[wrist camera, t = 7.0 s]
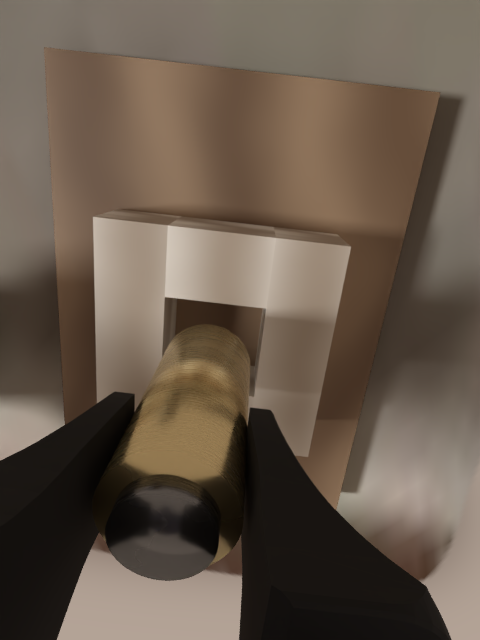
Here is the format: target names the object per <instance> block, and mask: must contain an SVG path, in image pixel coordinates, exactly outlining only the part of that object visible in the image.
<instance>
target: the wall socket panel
mask: <svg viewBox="0 0 480 640" xmlns="http://www.w3.org/2000/svg"><path fill="white" fill-rule="evenodd" d="M44 55H45V73H46V91H47V110H48V128H49V146H50V164H51V182H52V200H53V218H54V237H55V255H56V273H57V291H58V309H59V327H60V345H61V363H62V382H63V400H64V418H65V425H66V424H67V423H69V422H71V421H72V420H73V419H75V418H76V417H78V416H79V415H81V414H82V413H84V412H85V411H87V410H88V409H90V408H91V407H93V406H94V405H96V404H97V403H98V402H100V401H101V400H103V399H104V398H106V397H107V396H108V395H110V394H111V393H113V392H124V393H132V394H135V411H136V409H137V407H138V405H139V403H140V401H141V399H142V397H143V395H144V393H145V391H146V389H147V387H148V385H149V383H150V381H151V379H152V377H153V375H154V373H155V371H156V369H157V367H158V365H159V363H160V361H161V359H162V357H163V355H164V353H165V351H166V349H167V347H168V345H169V344H170V342H171V340H172V339H173V338H174V337H175V336H176V335H177V334H178V333H180V332H181V331H183V330H184V329H186V328H189V327H192V326H195V325H203V324H208V325H215V326H219V327H222V328H225V329H227V330H229V331H230V332H232V333H233V334H235V335H236V336H237V337H238V338H239V339H240V340H241V341H242V342H243V344H244V345H245V347H246V349H247V351H248V354H249V358H250V383H249V405H248V418H249V411H250V407H251V408H260V409H268V410H271V411H272V412H273V414H274V416H275V419H276V421H277V423H278V426H279V428H280V430H281V432H282V434H283V436H284V438H285V439H286V441H287V443H288V445H289V447H290V448H291V450H292V452H293V453H294V455H295V457H296V458H297V460H298V462H299V463H300V465H301V466H302V468H303V469H304V471H305V472H306V474H307V475H308V476H309V478H310V479H311V481H312V482H313V483H314V485H315V486H316V487H317V489H318V490H319V491H320V492H321V494H322V495H323V496H324V497H325V499H326V500H327V501H328V502H329V503H330V504H331V506H332V507H333V508H334V509H335V510H336V508H337V504H338V500H339V496H340V492H341V488H342V484H343V480H344V476H345V472H346V468H347V464H348V460H349V456H350V452H351V448H352V444H353V440H354V436H355V432H356V428H357V424H358V420H359V416H360V412H361V408H362V404H363V400H364V396H365V392H366V388H367V384H368V380H369V376H370V372H371V368H372V364H373V360H374V356H375V352H376V348H377V344H378V340H379V336H380V332H381V328H382V324H383V320H384V316H385V312H386V308H387V304H388V300H389V296H390V292H391V288H392V284H393V280H394V276H395V272H396V268H397V264H398V260H399V256H400V252H401V248H402V244H403V240H404V236H405V232H406V228H407V224H408V220H409V216H410V212H411V208H412V204H413V200H414V196H415V192H416V188H417V184H418V180H419V176H420V172H421V168H422V164H423V160H424V156H425V152H426V148H427V144H428V140H429V136H430V132H431V128H432V124H433V120H434V116H435V112H436V108H437V104H438V100H439V96H440V92H431V91H422V90H413V89H405V88H396V87H387V86H378V85H370V84H361V83H352V82H343V81H335V80H326V79H317V78H308V77H299V76H291V75H282V74H273V73H264V72H256V71H247V70H238V69H229V68H221V67H212V66H203V65H194V64H186V63H177V62H168V61H159V60H151V59H142V58H133V57H124V56H116V55H107V54H98V53H89V52H81V51H72V50H63V49H54V48H46V47H44Z"/></svg>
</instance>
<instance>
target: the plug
mask: <svg viewBox="0 0 480 640" xmlns="http://www.w3.org/2000/svg"><path fill="white" fill-rule="evenodd" d="M249 383H250V358H249V354H248V351H247V349H246V347H245V345H244V344H243V342H242V341H241V340H240V339H239V338H238V337H237V336H236V335H235V334H233V333H232V332H230V331H229V330H227V329H225V328H222V327H219V326H215V325H208V324H203V325H195V326H192V327H189V328H186V329H184V330H183V331H181V332H180V333H178V334H177V335H176V336H175V337H174V338H173V339H172V340H171V342H170V344H169V345H168V347H167V349H166V351H165V353H164V355H163V357H162V359H161V361H160V363H159V365H158V367H157V369H156V371H155V373H154V375H153V377H152V379H151V381H150V383H149V385H148V387H147V389H146V391H145V393H144V395H143V397H142V399H141V401H140V403H139V405H138V407H137V409H136V411H135V413H134V414H133V416H132V418H131V420H130V422H129V424H128V426H127V428H126V430H125V432H124V434H123V436H122V438H121V440H120V442H119V444H118V446H117V448H116V450H115V452H114V454H113V456H112V458H111V460H110V462H109V464H108V466H107V468H106V470H105V472H104V474H103V476H102V478H101V480H100V482H99V484H98V486H97V488H96V490H95V493H94V497H93V502H92V511H93V518H94V521H95V524H96V526H97V529H98V531H99V532H100V534H101V535H102V537H103V538H104V540H105V541H106V543H107V546H108V548H109V550H110V552H111V553H112V555H113V556H114V557H115V558H116V560H117V561H119V562H120V563H121V564H122V565H123V566H124V567H126V568H127V569H129V570H131V571H132V572H134V573H136V574H139V575H141V576H144V577H147V578H151V579H156V580H165V581H170V580H181V579H185V578H189V577H192V576H194V575H196V574H198V573H200V572H202V571H203V570H205V569H206V568H207V567H208V566H209V565H211V564H213V563H215V562H217V561H218V560H220V559H221V558H223V557H224V556H225V555H227V554H228V553H229V552H230V551H231V550H232V549H233V547H234V546H235V545H236V543H237V541H238V540H239V537H240V535H241V532H242V528H243V517H244V495H245V472H246V444H247V426H248V405H249Z"/></svg>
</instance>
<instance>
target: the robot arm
mask: <svg viewBox="0 0 480 640" xmlns="http://www.w3.org/2000/svg"><path fill="white" fill-rule="evenodd" d="M134 413H135V394H132V393H124V392H113V393H111V394H110V395H108V396H107V397H106V398H104V399H103V400H101V401H100V402H98V403H97V404H96V405H94V406H93V407H91V408H90V409H88V410H87V411H85V412H84V413H82V414H81V415H79V416H78V417H76V418H75V419H73V420H72V421H71V422H69V423H67V424H66V425H64V426H63V427H61V428H59V429H58V430H56V431H54V432H53V433H51V434H49V435H48V436H46V437H44V438H43V439H41V440H39V441H38V442H36V443H34V444H32V445H31V446H29V447H27V448H25V449H23V450H21V451H19V452H17V453H15V454H13V455H11V456H9V457H7V458H5V459H3V460H1V461H0V640H57V637H58V634H59V631H60V628H61V626H62V623H63V620H64V617H65V614H66V612H67V609H68V606H69V603H70V600H71V597H72V595H73V592H74V589H75V587H76V584H77V582H78V579H79V576H80V573H81V571H82V568H83V566H84V563H85V561H86V558H87V556H88V554H89V552H90V550H91V548H92V545H93V543H94V541H95V539H96V537H97V535H98V533H99V531H98V529H97V526H96V524H95V521H94V518H93V511H92V502H93V497H94V493H95V490H96V488H97V486H98V484H99V482H100V480H101V478H102V476H103V474H104V472H105V470H106V468H107V466H108V464H109V462H110V460H111V458H112V456H113V454H114V452H115V450H116V448H117V446H118V444H119V442H120V440H121V438H122V436H123V434H124V432H125V430H126V428H127V426H128V424H129V422H130V420H131V418H132V416H133V414H134ZM241 541H242V600H241V619H240V635H239V640H451V638H450V635H449V633H448V630H447V628H446V625H445V623H444V621H443V619H442V617H441V614H440V612H439V610H438V608H437V607H436V605H435V603H434V601H433V599H432V598H431V595H430V593H429V591H428V589H427V587H426V586H425V585H424V584H422V583H421V582H420V581H418V580H417V579H415V578H414V577H413V576H411V575H410V574H409V573H407V572H406V571H405V570H403V569H402V568H401V567H399V566H398V565H396V564H395V563H394V562H392V561H391V560H390V559H388V558H387V557H386V556H385V555H384V554H382V553H381V552H380V551H379V550H378V549H376V548H375V547H374V546H373V545H372V544H371V543H369V542H368V541H367V540H366V539H365V538H364V537H363V536H362V535H360V534H359V533H358V532H357V531H356V530H355V529H354V528H353V527H352V526H351V525H350V524H349V523H348V522H347V521H346V520H345V519H344V518H343V517H342V516H341V515H340V514H339V513H338V512H337V511H336V510H335V509H334V508H333V507H332V506H331V504H330V503H329V502H328V501H327V500H326V499H325V497H324V496H323V495H322V494H321V492H320V491H319V490H318V489H317V487H316V486H315V485H314V483H313V482H312V481H311V479H310V478H309V476H308V475H307V474H306V472H305V471H304V469H303V468H302V466H301V465H300V463H299V462H298V460H297V458H296V457H295V455H294V453H293V452H292V450H291V448H290V447H289V445H288V443H287V441H286V439H285V438H284V436H283V434H282V432H281V430H280V428H279V426H278V423H277V421H276V419H275V416H274V414H273V412H272V411H271V410H268V409H260V408H251V407H250V411H249V418H248V426H247V444H246V472H245V495H244V517H243V528H242V532H241Z"/></svg>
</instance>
